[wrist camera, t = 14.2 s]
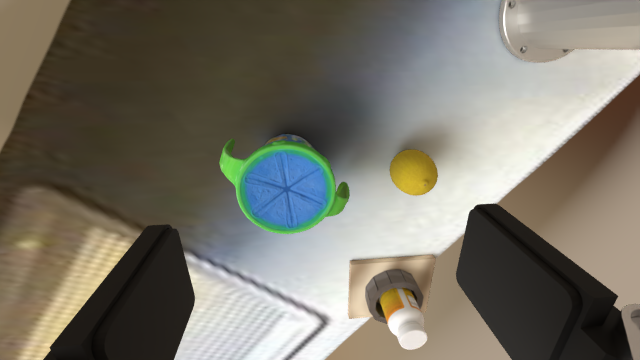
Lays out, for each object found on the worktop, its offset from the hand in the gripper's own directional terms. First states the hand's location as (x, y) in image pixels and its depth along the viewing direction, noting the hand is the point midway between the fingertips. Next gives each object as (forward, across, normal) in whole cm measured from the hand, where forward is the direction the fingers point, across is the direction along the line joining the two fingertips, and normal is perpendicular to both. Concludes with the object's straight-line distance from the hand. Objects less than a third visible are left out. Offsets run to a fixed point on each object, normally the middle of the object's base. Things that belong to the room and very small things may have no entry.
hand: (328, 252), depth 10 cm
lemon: (+31, -14, +9) cm, 35 cm away
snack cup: (+31, +2, +8) cm, 32 cm away
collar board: (+30, -14, +32) cm, 46 cm away
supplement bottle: (+30, -14, +32) cm, 46 cm away
